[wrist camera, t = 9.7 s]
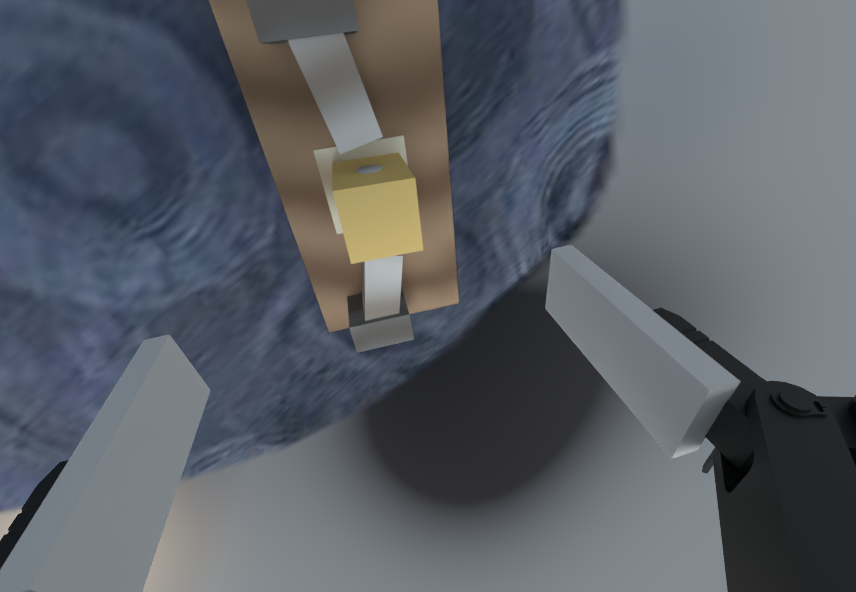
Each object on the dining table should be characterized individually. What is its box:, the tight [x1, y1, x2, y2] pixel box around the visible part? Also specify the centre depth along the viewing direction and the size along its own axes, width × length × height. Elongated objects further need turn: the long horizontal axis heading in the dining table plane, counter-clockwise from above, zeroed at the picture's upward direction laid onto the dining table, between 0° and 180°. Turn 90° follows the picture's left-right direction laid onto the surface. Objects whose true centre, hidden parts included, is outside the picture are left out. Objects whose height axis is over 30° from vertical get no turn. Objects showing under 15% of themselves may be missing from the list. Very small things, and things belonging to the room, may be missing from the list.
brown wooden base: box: [209, 0, 459, 353], centre depth 24 cm, size 24×12×6 cm, turn 6°
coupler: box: [332, 152, 423, 264], centre depth 23 cm, size 5×5×6 cm
